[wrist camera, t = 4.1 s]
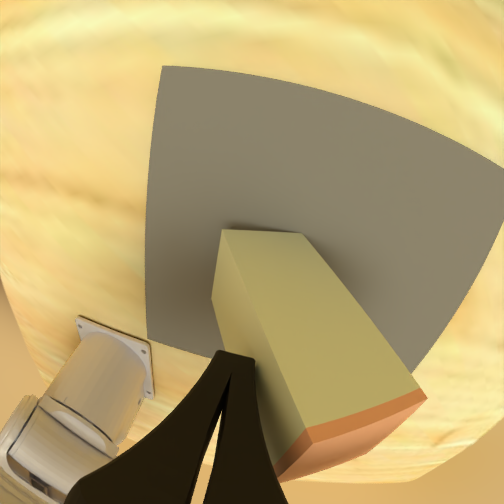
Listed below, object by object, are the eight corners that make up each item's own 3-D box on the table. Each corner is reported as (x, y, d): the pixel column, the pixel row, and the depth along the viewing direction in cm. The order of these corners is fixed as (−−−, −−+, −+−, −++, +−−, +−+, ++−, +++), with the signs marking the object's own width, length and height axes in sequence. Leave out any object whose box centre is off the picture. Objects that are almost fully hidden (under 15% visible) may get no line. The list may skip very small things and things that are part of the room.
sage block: (281, 296, 19) (366, 453, 10) (211, 298, 17) (269, 485, 8) (301, 233, 16) (427, 398, 8) (221, 229, 15) (312, 443, 6)
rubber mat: (394, 386, 22) (395, 391, 22) (150, 333, 23) (147, 338, 23) (513, 176, 13) (518, 178, 12) (167, 66, 13) (162, 65, 13)
